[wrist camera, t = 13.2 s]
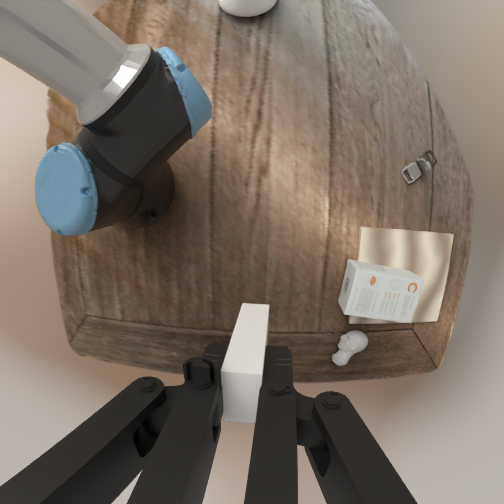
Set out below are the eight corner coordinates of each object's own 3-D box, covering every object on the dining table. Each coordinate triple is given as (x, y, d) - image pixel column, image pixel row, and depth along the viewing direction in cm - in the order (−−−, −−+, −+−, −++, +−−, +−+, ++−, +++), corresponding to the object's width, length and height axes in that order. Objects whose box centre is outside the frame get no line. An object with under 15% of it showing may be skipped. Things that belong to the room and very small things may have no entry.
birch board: (348, 320, 52) (349, 323, 51) (359, 226, 48) (361, 227, 47) (434, 318, 50) (437, 321, 49) (450, 233, 46) (453, 234, 45)
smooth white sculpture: (354, 321, 53) (370, 338, 52) (325, 347, 55) (341, 364, 54) (355, 326, 49) (372, 344, 48) (323, 354, 51) (341, 372, 49)
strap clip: (406, 185, 46) (417, 185, 42) (398, 171, 45) (408, 170, 41) (436, 162, 44) (447, 160, 40) (428, 148, 44) (439, 146, 40)
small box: (336, 300, 50) (398, 310, 49) (343, 315, 44) (410, 324, 43) (347, 257, 48) (410, 270, 47) (356, 267, 42) (425, 280, 41)
